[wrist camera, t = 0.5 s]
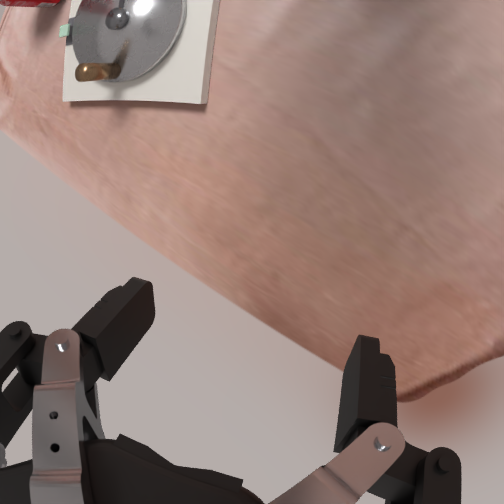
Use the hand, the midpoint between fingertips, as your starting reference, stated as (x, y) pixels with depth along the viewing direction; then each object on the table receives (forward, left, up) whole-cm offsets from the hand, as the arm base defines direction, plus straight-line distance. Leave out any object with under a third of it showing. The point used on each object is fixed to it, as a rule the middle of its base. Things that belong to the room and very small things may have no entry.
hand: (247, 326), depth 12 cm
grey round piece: (-16, -25, -26) cm, 40 cm away
